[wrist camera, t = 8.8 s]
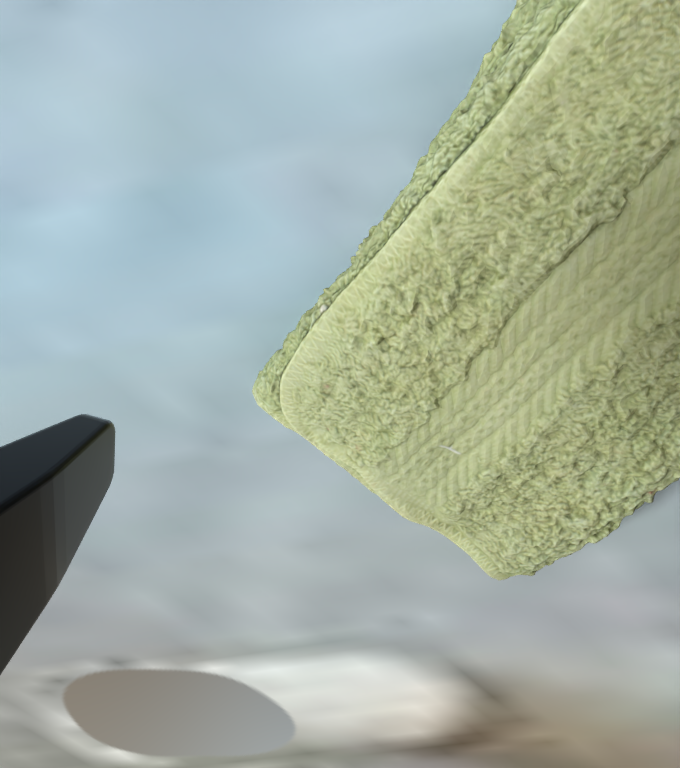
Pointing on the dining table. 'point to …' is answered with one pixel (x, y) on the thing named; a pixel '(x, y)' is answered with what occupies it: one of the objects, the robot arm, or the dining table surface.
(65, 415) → the dining table surface
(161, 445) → the dining table surface
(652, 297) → the washcloth
